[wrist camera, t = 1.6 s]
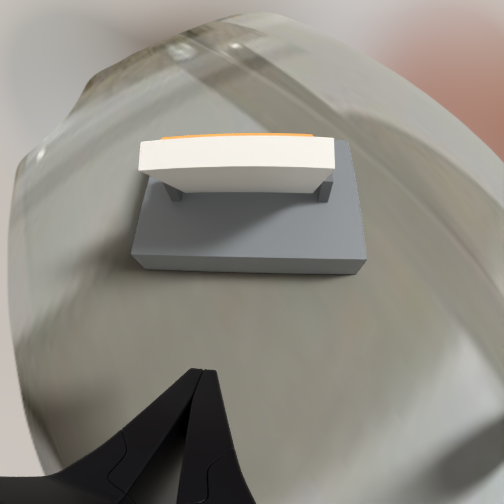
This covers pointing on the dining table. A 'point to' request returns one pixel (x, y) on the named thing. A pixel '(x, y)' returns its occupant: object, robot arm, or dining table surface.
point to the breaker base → (255, 228)
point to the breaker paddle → (240, 162)
